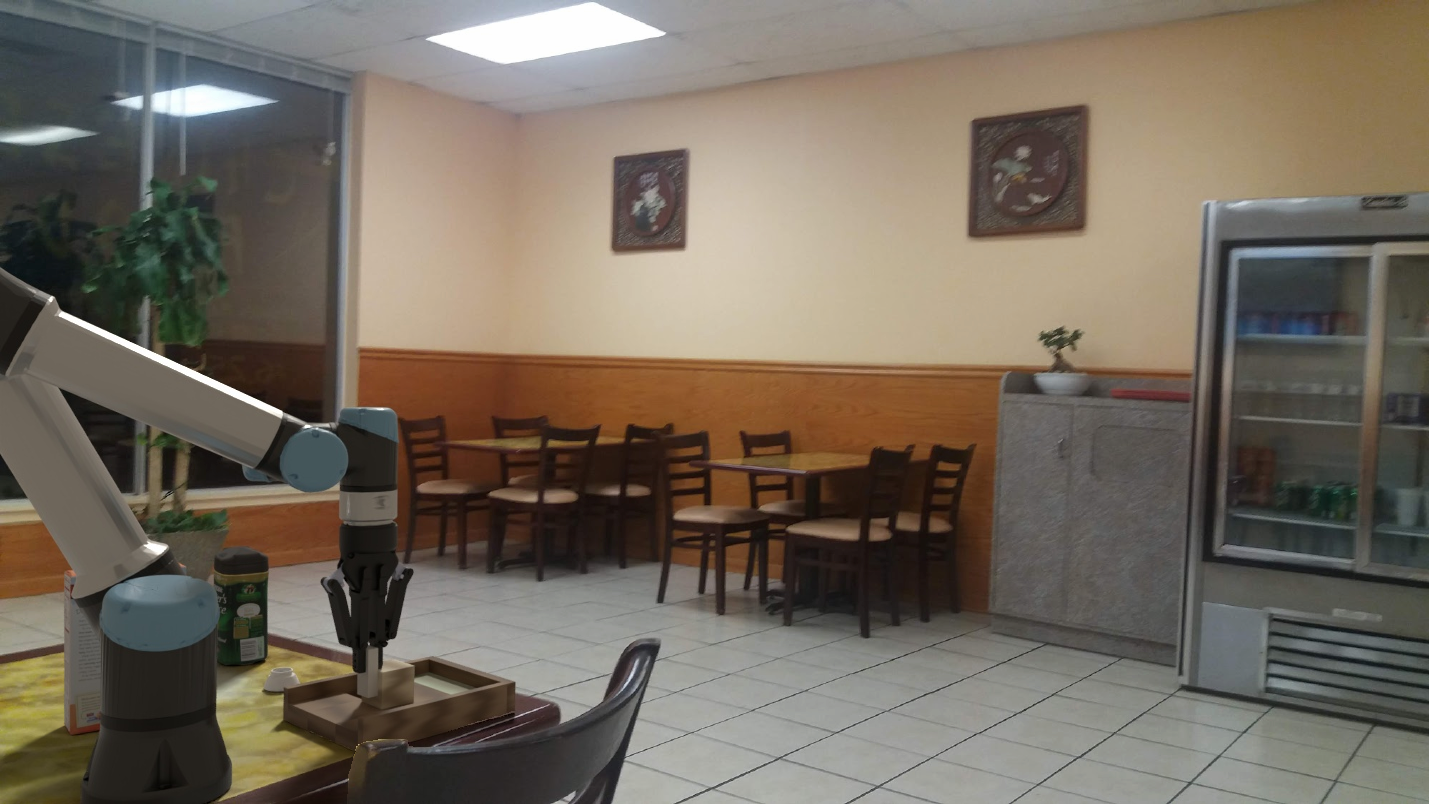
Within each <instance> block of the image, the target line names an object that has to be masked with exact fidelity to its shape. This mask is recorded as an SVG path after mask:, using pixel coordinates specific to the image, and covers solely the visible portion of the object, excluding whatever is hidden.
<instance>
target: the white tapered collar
mask: <svg viewBox="0 0 1429 804" xmlns="http://www.w3.org/2000/svg"><path fill="white" fill-rule="evenodd" d="M293 671H294V669H293V668H292V667H289V666H288V667H286V666H281V667H275V668H272V669H271V670H270V674H268V676H267V678H266V680H265V682H264V685H263V689H264V690H265V691H267V692H270V693H284V687H286V686H291V685H296V684H301V682H300V680H299V678H298V676H297V674H296V673H295V672H293Z"/></svg>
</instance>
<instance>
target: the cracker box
mask: <svg viewBox="0 0 1429 804" xmlns="http://www.w3.org/2000/svg"><path fill="white" fill-rule="evenodd" d="M179 564H180V566H181V568H182V569H183V571H184V573H185V574H186V575H187V569H188V567H187V566H186V565H184V564H182V563H181V562H179ZM63 572H64V577H63V579H64V580H63V584H64V585H63V586H64V588H63V589H64V590H63V592H64V593H63V595H64V596H63V597H64V599H63V600H64V601H63V604H64V605H63V609H64V610H63V611H64V612H63V620H64V621H63V630H64V631H63V639H64V640H63V642H64V643H63V646H64V647H63V654H64V655H63V661H64V662H63V664H64V665H63V666H64V667H63V668H64V671H63V674H64V675H63V683H64V685H63V687H64V688H63V710H64V711H63V717H64V720H63V721H64V722H63V723H64V726H65V727H66V730H67V731H68V733H69V734H70V735H71V736H72V735H73V736H75V735H79V734H85V733H91V732H96V731H97V732H98V731H100V713H101V711H100V697H101V650H100V641H99V640H98V638H97V636H96V634H95V633H94V631H93V630H92V628H91V626H90V625H89V623H88V622H87V620H86V618H85V617H84V615H83V614H82V612H81V610H80V609H79V607H78V605H77V604H76V602H75V601H74V599H73V597H72V596H71V593H72V590H73V587H74V584H75V582H76V574H75V573H74V571H73V570H72V569H71V570H69V569H68V570H65V571H63Z"/></svg>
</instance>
